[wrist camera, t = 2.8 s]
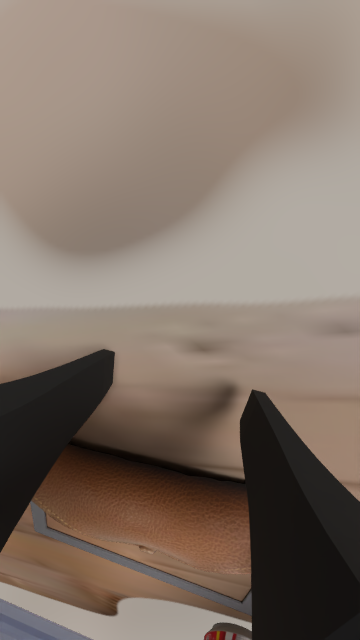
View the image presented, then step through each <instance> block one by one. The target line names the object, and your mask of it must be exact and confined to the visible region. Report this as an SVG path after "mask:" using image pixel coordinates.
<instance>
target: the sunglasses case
mask: <svg viewBox="0 0 360 640" xmlns="http://www.w3.org/2000/svg"><path fill="white" fill-rule="evenodd" d="M31 501H32V502H34V503H35V504H36V505H37V506H38V507H39V508H40V509H42V510H43V511H44V512H45V513H47V515H49V516H50V517H52V518H53V519H54V520H56V521H58V522H59V523H61V524H62V525H64V526H66V527H68V528H70V529H72V530H74V531H76V532H78V533H81V534H84V535H87V536H90V537H92V538H95V539H100V540H104V541H110V542H119V543H125V544H132V545H137V546H139V548H140V550H141V551H143V552H146V553H149V554H154V553H155V552H156V551H159V552H160V553H163V554H165V555H168V556H169V557H171V558H173V559H176V560H178V561H181V562H183V563H185V564H187V565H190V566H192V567H193V568H197V569H199V570H204V571H207V572H215V573H220V574H251V551H250V526H249V507H248V497H247V489H246V484H240V483H236V482H232V481H218V480H215V479H212V478H206V477H195V476H186V475H184V474H182V473H180V472H176V471H172V470H168V469H164V468H161V467H157V466H153V465H149V464H144V463H138V462H133V461H128V460H125V459H123V458H120V457H117V456H113V455H109V454H105V453H100V452H96V451H92V450H88V449H84V448H80V447H77V446H73V445H69V444H67V446H66V447H65V449H64V450H63V452H62V453H61V455H60V456H59V458H58V459H57V461H56V462H55V464H54V465H53V467H52V468H51V470H50V471H49V473H48V474H47V476H46V478H45V479H44V481H43V482H42V484H41V485H40V487H39V489H38V490H37V492H36V493H35V495H34V497H33V498H32V500H31Z"/></svg>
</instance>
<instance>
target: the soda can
mask: <svg viewBox="0 0 360 640" xmlns="http://www.w3.org/2000/svg"><path fill="white" fill-rule="evenodd" d="M204 640H252V632H251V631H250V630H248V629H246V628H244V627H241V626H238V625H235V624H231V623H217V624H215V625H214V626H213V628H212V629H211V630H210V631H209V632H207V633H206V635H205V636H204Z"/></svg>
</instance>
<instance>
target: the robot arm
mask: <svg viewBox="0 0 360 640" xmlns="http://www.w3.org/2000/svg"><path fill="white" fill-rule="evenodd" d="M114 356H115V352H113V351H109V350H105V349H103V350H100V351H98V352H95V353H92V354H90V355H87V356H85V357H83V358H80V359H77V360H75V361H72V362H70V363H67V364H65V365H62V366H59V367H56V368H54V369H51V370H48V371H45V372H42V373H39V374H36V375H33V376H29V377H26V378H22V379H19V380H15V381H11V382H7V383H3V384H0V552H1V551H2V549H3V547H4V545H5V544H6V542H7V540H8V538H9V537H10V535H11V533H12V531H13V530H14V528H15V526H16V525H17V523H18V521H19V520H20V518H21V516H22V515H23V513H24V511H25V510H26V508H27V506H28V505H29V503H30V501H31V500H32V498H33V497H34V495H35V493H36V492H37V490H38V489H39V487H40V485H41V484H42V482H43V481H44V479H45V478H46V476H47V474H48V473H49V471H50V470H51V468H52V467H53V465H54V464H55V462H56V461H57V459H58V458H59V456H60V455H61V453H62V452H63V450H64V449H65V447H66V446H67V444H68V443H69V442H70V440H71V439H72V438H73V436H74V435H75V434H76V433H77V431H78V430H79V429H80V428H81V426H82V425H83V424H84V423H85V421H86V420H87V419H88V418H89V416H90V415H91V414H92V413H93V411H94V410H95V409H96V408H97V406H98V405H99V404H100V402H101V401H102V400H103V398H104V397H105V395H106V393H107V392H108V390H109V388H110V387H111V385H112V383H113V369H114ZM240 443H241V452H242V459H243V467H244V474H245V482H246V489H247V497H248V507H249V526H250V551H251V591H252V640H360V502H359V501H358V500H357V499H356V498H355V497H354V496H353V495H352V494H351V493H350V492H349V491H348V490H347V489H346V488H345V487H344V486H343V485H342V484H341V483H340V482H339V481H338V480H337V479H336V478H335V477H334V476H333V475H332V474H331V473H330V472H329V471H328V469H327V468H326V467H325V466H324V465H323V464H322V463H321V462H320V461H319V460H318V459H317V458H316V456H315V455H314V454H313V453H312V452H311V451H310V449H309V448H308V447H307V446H306V445H305V444H304V442H303V441H302V440H301V439H300V438H299V436H298V435H297V434H296V433H295V431H294V430H293V429H292V428H291V426H290V425H289V424H288V422H287V421H286V420H285V419H284V417H283V416H282V415H281V413H280V412H279V411H278V409H277V408H276V407H275V405H274V404H273V403H272V401H271V400H270V399H269V397H268V396H267V395H266V393H264V392H260V391H256V390H253V389H252V391H251V394H250V396H249V399H248V402H247V404H246V407H245V409H244V412H243V414H242V417H241V419H240ZM0 640H92V639H90V638H88V637H86V636H83V635H81V634H79V633H77V632H75V631H72V630H70V629H68V628H66V627H63V626H61V625H59V624H56V623H54V622H52V621H50V620H47V619H45V618H43V617H41V616H38V615H36V614H34V613H32V612H29V611H27V610H25V609H22V608H20V607H18V606H16V605H14V604H11V603H9V602H7V601H4V600H2V599H0Z"/></svg>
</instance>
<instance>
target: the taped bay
mask: <svg viewBox="0 0 360 640" xmlns="http://www.w3.org/2000/svg"><path fill="white" fill-rule="evenodd" d="M30 504H31V510H32V516H33V523H34V529H35V531H36V532H38V533H41V534H43V535H46V536H49V537H51V538H54V539H56V540H59V541H61V542H64V543H66V544H69V545H72V546H74V547H77V548H79V549H82V550H84V551H87V552H89V553H92V554H95V555H97V556H100V557H102V558H105V559H107V560H110V561H112V562H115V563H118V564H120V565H123V566H125V567H128V568H130V569H133V570H135V571H138V572H141V573H143V574H146V575H148V576H151V577H153V578H156V579H158V580H161V581H164V582H166V583H169V584H171V585H174V586H176V587H179V588H181V589H184V590H187V591H189V592H192V593H194V594H197V595H199V596H202V597H204V598H207V599H210V600H212V601H215V602H217V603H220V604H222V605H225V606H227V607H230V608H233V609H235V610H238V611H240V612H243V613H245V614H248V615H250V616H252V591H250V592H249V593H248V595H247V596H246V597H245V599H244V600H243V602H240V601H237V600H234V599H232V598H229V597H227V596H224V595H221V594H219V593H216V592H214V591H211V590H209V589H206V588H203V587H201V586H198V585H196V584H193V583H190V582H188V581H185V580H183V579H180V578H177V577H175V576H172V575H170V574H167V573H164V572H162V571H159V570H157V569H154V568H152V567H149V566H146V565H144V564H141V563H139V562H136V561H133V560H131V559H128V558H126V557H123V556H120V555H118V554H115V553H113V552H110V551H107V550H105V549H102V548H100V547H97V546H95V545H92V544H89V543H87V542H84V541H82V540H79V539H76V538H74V537H71V536H69V535H66V534H63V533H61V532H58V531H56V530H53V529H51V528H48V527H47V523H46V514H45V512H44V511H43V510H42V509H40V508H39V507H38V506H37V505H36V504H35V503H34V502H32V501H30Z"/></svg>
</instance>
